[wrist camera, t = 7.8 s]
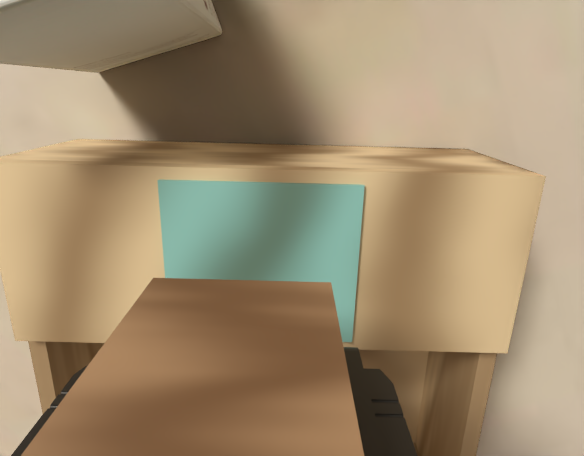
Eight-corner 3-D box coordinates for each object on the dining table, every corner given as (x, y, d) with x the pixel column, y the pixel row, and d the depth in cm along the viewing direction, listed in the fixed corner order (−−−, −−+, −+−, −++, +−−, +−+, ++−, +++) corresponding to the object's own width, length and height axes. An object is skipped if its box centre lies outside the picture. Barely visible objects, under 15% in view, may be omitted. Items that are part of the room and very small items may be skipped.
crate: (467, 149, 24) (548, 177, 16) (422, 442, 30) (464, 561, 23) (77, 139, 24) (-27, 162, 16) (117, 434, 30) (56, 551, 23)
